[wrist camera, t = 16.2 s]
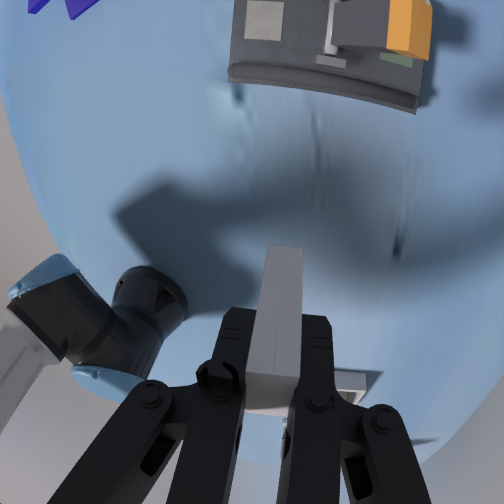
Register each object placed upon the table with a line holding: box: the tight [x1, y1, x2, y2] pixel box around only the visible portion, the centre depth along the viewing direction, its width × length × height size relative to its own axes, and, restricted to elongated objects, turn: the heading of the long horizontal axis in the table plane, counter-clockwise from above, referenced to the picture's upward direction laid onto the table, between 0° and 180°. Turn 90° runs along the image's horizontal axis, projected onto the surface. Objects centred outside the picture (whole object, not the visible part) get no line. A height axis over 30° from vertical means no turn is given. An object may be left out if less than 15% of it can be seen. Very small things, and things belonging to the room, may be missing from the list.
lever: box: [324, 0, 433, 61], centre depth 19 cm, size 3×7×13 cm, turn 175°
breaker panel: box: [228, 0, 424, 115], centre depth 25 cm, size 22×16×6 cm
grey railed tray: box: [228, 0, 431, 109], centre depth 23 cm, size 22×15×2 cm
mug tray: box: [334, 370, 367, 405], centre depth 64 cm, size 14×16×5 cm
